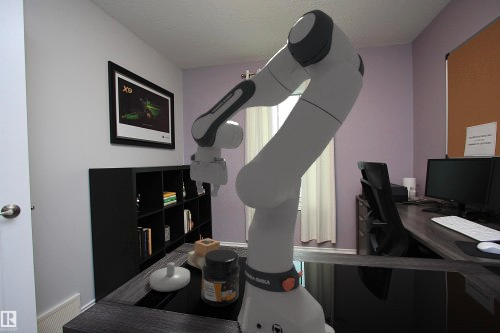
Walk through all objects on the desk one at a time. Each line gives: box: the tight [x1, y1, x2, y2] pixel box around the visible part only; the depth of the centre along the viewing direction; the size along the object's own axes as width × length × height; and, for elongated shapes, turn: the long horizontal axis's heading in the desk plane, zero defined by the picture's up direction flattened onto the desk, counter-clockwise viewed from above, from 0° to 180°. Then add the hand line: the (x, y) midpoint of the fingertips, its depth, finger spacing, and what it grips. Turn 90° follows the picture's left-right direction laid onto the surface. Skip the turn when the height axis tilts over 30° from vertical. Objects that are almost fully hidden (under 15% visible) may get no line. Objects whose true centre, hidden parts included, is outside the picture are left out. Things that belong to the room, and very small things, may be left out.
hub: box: [149, 261, 191, 292], centre depth 74 cm, size 12×12×6 cm
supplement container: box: [201, 248, 241, 308], centre depth 66 cm, size 10×10×12 cm
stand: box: [187, 240, 211, 271], centre depth 89 cm, size 10×10×8 cm
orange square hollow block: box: [193, 237, 221, 256], centre depth 89 cm, size 7×7×4 cm
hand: (206, 194), depth 87 cm, fingers open, 8 cm apart
